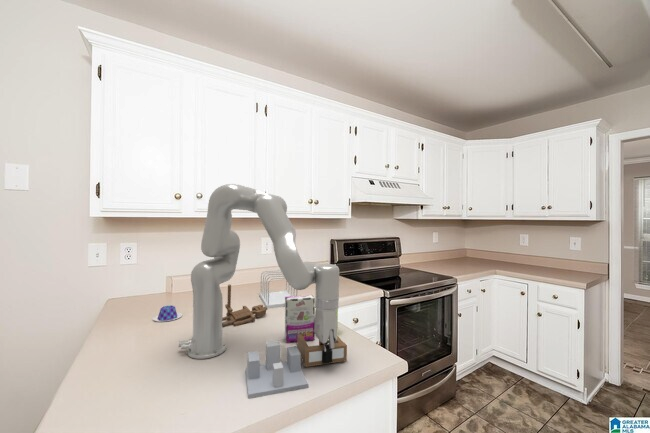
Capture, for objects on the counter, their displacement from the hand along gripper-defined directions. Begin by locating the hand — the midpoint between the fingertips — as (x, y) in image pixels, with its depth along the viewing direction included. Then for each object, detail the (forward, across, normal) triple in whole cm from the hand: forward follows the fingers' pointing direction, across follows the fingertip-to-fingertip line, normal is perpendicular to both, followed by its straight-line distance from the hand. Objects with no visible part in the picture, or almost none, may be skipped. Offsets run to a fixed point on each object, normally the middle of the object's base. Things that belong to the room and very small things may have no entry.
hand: (325, 359), depth 91 cm
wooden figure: (+2, -47, -23) cm, 52 cm away
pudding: (+3, -62, -57) cm, 84 cm away
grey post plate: (+1, +4, -17) cm, 17 cm away
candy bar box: (+2, -21, -4) cm, 21 cm away
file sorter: (+2, -76, -3) cm, 76 cm away
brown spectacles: (+1, -5, 0) cm, 5 cm away
